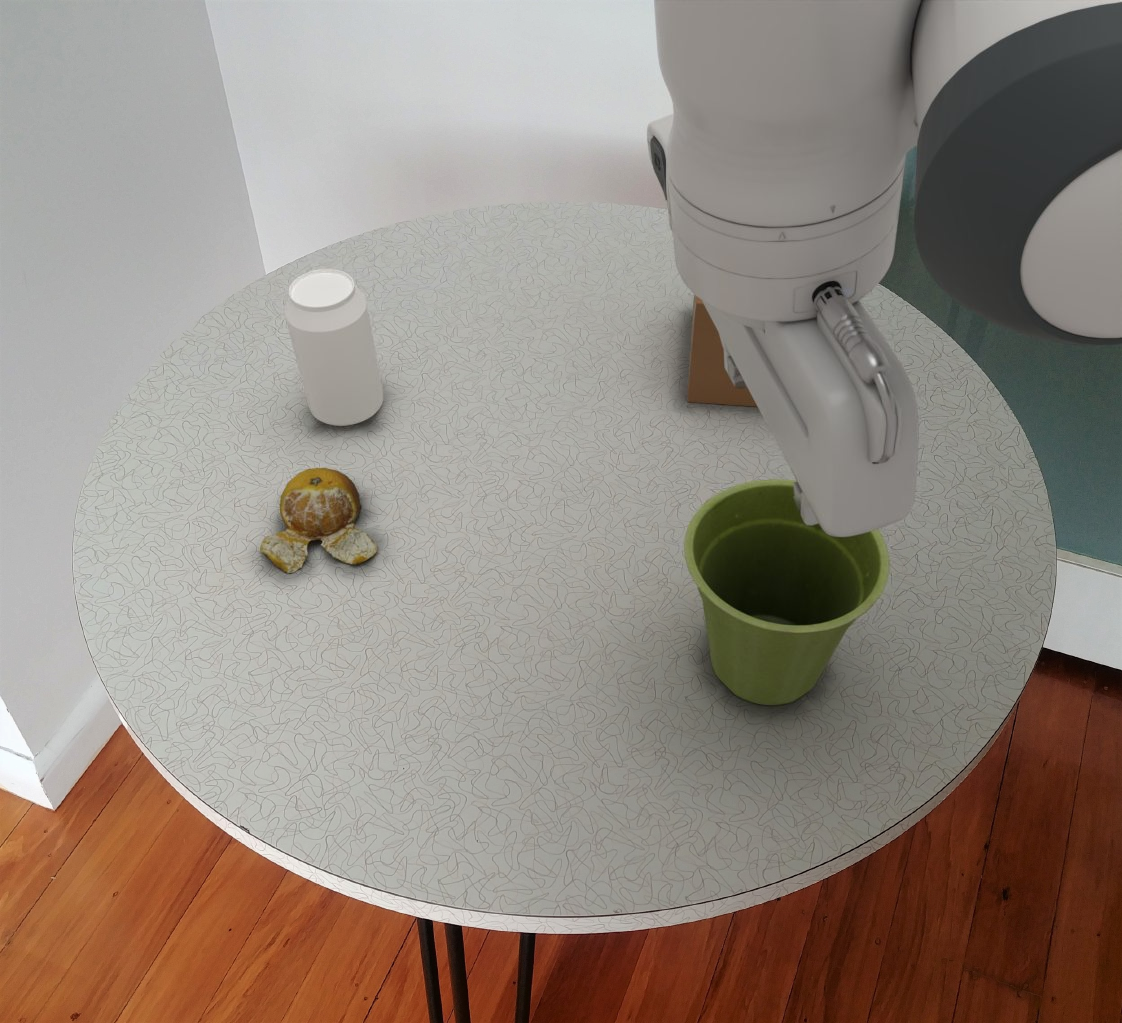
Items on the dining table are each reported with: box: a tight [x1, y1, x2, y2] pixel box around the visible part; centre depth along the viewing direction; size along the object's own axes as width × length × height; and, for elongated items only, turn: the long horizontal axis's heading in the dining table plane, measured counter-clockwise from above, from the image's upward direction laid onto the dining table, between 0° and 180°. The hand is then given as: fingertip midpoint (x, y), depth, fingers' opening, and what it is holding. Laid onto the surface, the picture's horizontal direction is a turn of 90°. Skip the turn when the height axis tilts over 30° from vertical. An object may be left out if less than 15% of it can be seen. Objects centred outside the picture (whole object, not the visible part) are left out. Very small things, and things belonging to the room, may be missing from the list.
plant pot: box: [683, 478, 891, 706], centre depth 66 cm, size 12×12×11 cm
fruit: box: [260, 467, 378, 574], centre depth 78 cm, size 8×8×4 cm
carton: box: [686, 293, 758, 408], centre depth 87 cm, size 12×12×10 cm
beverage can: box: [284, 268, 384, 427], centre depth 84 cm, size 6×6×12 cm
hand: (778, 440), depth 53 cm, fingers open, 8 cm apart
